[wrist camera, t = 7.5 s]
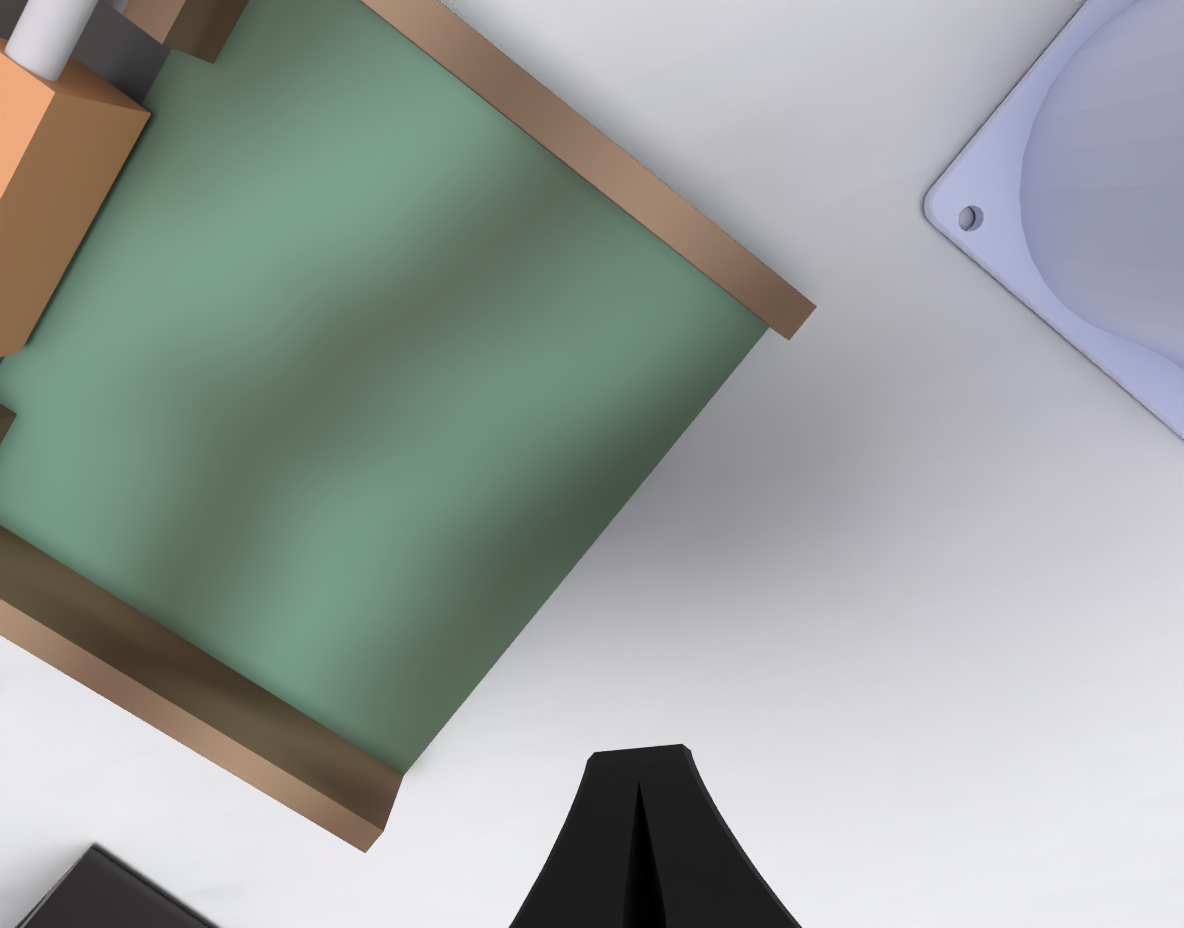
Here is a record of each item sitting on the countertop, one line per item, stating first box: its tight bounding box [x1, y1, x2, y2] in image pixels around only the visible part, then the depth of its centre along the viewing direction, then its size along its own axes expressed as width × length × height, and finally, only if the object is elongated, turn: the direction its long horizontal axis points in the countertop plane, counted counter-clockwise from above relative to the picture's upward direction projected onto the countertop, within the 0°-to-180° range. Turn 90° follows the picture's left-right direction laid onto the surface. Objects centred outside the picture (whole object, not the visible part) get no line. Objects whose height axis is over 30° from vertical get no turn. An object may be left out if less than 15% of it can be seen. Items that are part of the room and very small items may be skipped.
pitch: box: [0, 0, 817, 853], centre depth 17 cm, size 22×16×3 cm
